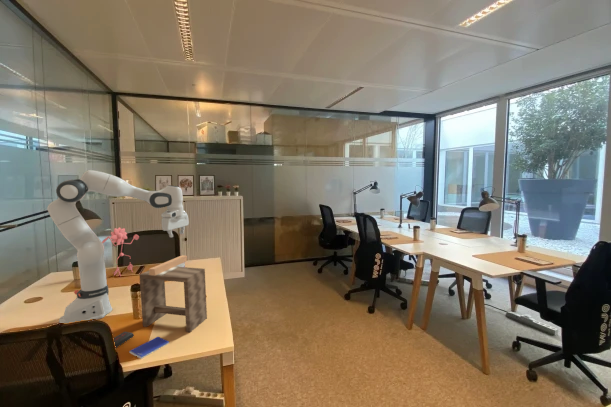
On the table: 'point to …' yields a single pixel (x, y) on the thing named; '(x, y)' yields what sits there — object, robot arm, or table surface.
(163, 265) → the handle bar
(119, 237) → the pink wire sculpture
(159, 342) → the hard drive
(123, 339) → the usb drive
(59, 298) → the table surface
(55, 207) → the robot arm
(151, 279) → the stand
